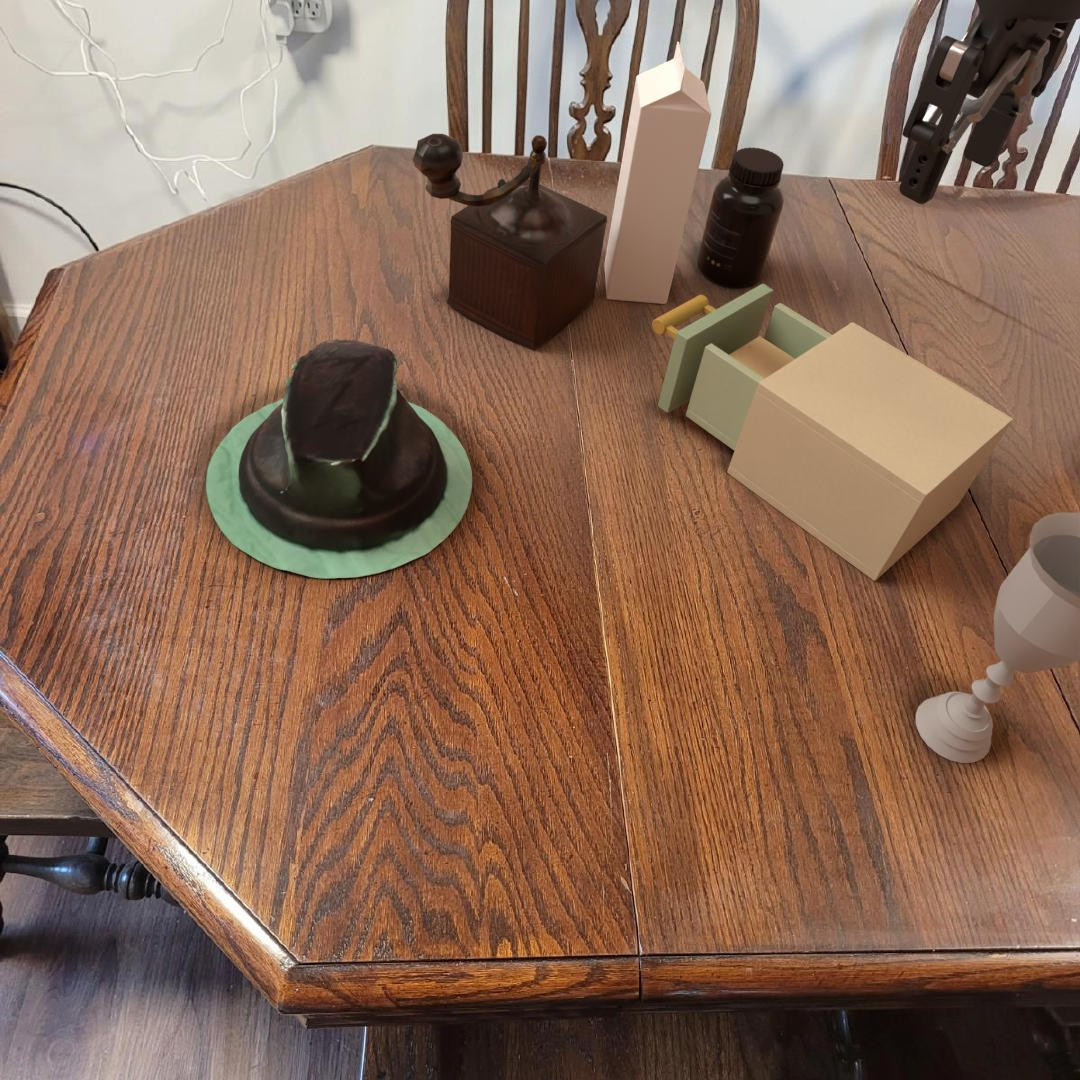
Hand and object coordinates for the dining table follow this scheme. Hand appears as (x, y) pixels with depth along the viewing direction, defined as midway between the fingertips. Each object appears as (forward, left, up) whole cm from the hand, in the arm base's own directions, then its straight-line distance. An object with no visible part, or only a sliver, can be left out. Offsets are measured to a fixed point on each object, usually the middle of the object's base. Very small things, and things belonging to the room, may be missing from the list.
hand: (946, 178), depth 65 cm
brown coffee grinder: (+13, -29, -23) cm, 39 cm away
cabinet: (+6, +5, -23) cm, 24 cm away
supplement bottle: (-11, -21, -23) cm, 33 cm away
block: (+6, -5, -21) cm, 23 cm away
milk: (-1, -25, -23) cm, 34 cm away
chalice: (+19, +23, -23) cm, 38 cm away
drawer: (+6, -6, -22) cm, 24 cm away
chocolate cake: (+37, -21, -23) cm, 49 cm away
